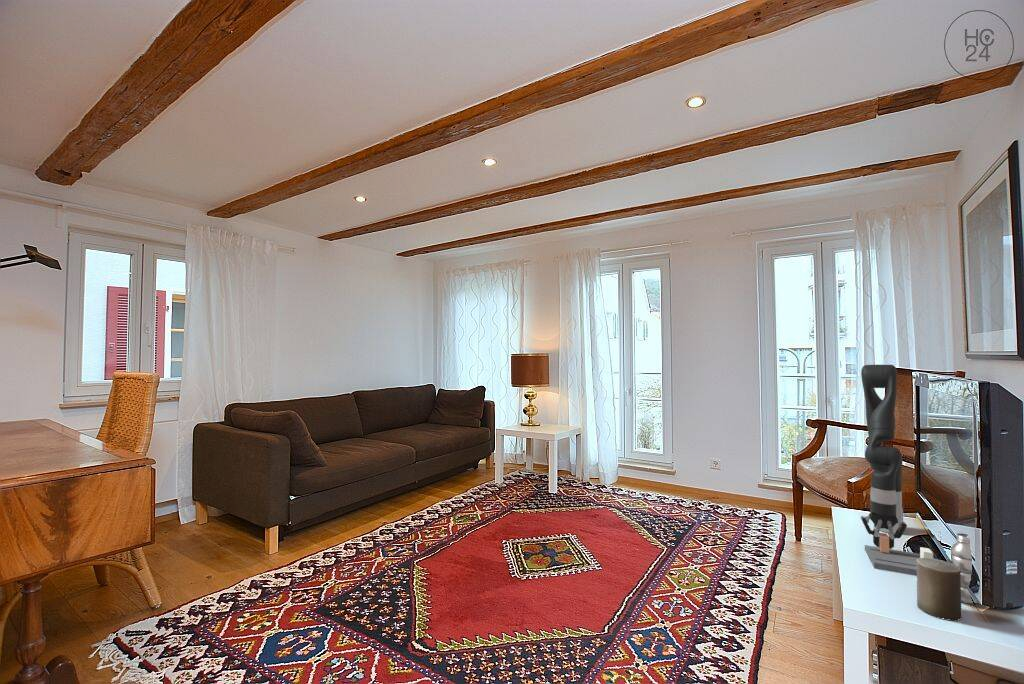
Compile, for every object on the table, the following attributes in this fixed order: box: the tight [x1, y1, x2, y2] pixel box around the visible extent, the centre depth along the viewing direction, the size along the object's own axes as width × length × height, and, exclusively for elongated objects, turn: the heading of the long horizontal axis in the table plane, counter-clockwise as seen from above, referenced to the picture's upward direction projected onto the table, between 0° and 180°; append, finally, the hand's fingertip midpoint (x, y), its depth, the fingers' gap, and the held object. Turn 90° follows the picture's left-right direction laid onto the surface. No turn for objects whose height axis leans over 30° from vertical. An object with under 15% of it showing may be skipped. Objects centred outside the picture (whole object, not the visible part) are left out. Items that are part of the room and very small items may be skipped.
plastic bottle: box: [950, 532, 974, 605], centre depth 142 cm, size 6×7×20 cm
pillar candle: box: [916, 558, 962, 621], centre depth 137 cm, size 10×10×15 cm
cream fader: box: [919, 546, 934, 559], centre depth 159 cm, size 2×4×6 cm, turn 153°
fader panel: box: [864, 544, 936, 577], centre depth 166 cm, size 20×16×2 cm
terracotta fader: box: [878, 532, 889, 553], centre depth 172 cm, size 2×4×6 cm, turn 153°
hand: (883, 546), depth 172 cm, fingers open, 3 cm apart
